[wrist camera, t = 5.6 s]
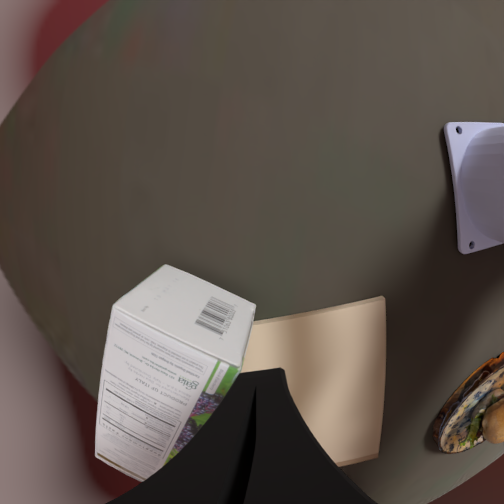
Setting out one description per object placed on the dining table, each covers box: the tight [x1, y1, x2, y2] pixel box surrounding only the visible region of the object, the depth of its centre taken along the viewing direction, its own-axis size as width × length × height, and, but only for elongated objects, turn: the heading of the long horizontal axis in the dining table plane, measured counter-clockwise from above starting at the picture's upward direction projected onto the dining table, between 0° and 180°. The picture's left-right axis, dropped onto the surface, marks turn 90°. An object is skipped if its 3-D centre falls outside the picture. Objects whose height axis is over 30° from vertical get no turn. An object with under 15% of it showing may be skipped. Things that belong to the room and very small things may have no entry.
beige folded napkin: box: [240, 296, 386, 467], centre depth 18 cm, size 13×16×1 cm
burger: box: [433, 352, 504, 454], centre depth 15 cm, size 12×12×8 cm
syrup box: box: [95, 265, 256, 482], centre depth 15 cm, size 6×6×14 cm
